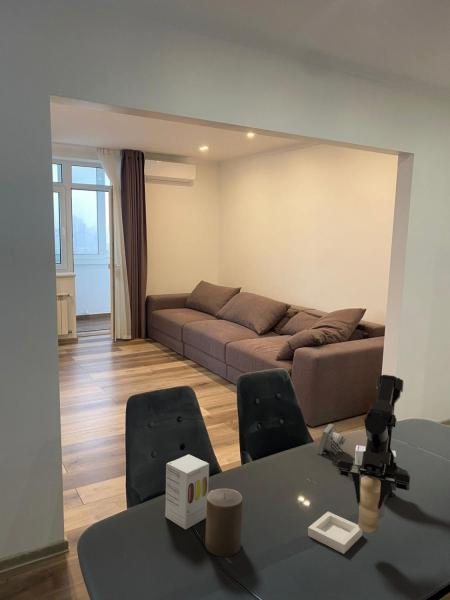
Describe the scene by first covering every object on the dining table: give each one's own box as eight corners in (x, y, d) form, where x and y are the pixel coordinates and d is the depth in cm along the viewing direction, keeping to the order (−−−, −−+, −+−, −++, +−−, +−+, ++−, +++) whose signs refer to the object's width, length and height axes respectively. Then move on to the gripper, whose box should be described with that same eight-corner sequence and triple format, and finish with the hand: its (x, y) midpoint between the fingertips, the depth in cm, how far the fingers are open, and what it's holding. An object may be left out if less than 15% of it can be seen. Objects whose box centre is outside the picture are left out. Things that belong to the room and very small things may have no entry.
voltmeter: (311, 446, 187) (312, 423, 186) (337, 445, 188) (338, 422, 187) (334, 477, 160) (335, 450, 159) (364, 476, 162) (366, 449, 161)
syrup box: (395, 450, 170) (356, 444, 175) (396, 456, 165) (355, 450, 170) (394, 464, 171) (355, 458, 176) (395, 471, 165) (354, 464, 170)
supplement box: (185, 530, 127) (186, 473, 126) (164, 517, 133) (164, 463, 132) (208, 516, 134) (210, 462, 133) (187, 504, 140) (188, 453, 139)
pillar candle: (229, 562, 115) (231, 506, 113) (197, 548, 120) (199, 494, 118) (247, 542, 123) (249, 490, 121) (217, 530, 128) (219, 479, 127)
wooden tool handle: (369, 520, 122) (372, 474, 121) (381, 531, 118) (384, 484, 116) (354, 523, 121) (356, 477, 119) (366, 534, 116) (368, 486, 115)
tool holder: (327, 519, 134) (327, 511, 134) (362, 535, 127) (362, 527, 127) (307, 535, 126) (308, 527, 126) (343, 553, 119) (344, 544, 118)
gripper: (339, 431, 124) (329, 487, 116) (412, 444, 116) (406, 505, 108) (343, 447, 132) (334, 501, 124) (412, 461, 124) (406, 519, 116)
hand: (368, 506), depth 117 cm, fingers closed on wooden tool handle, 5 cm apart
